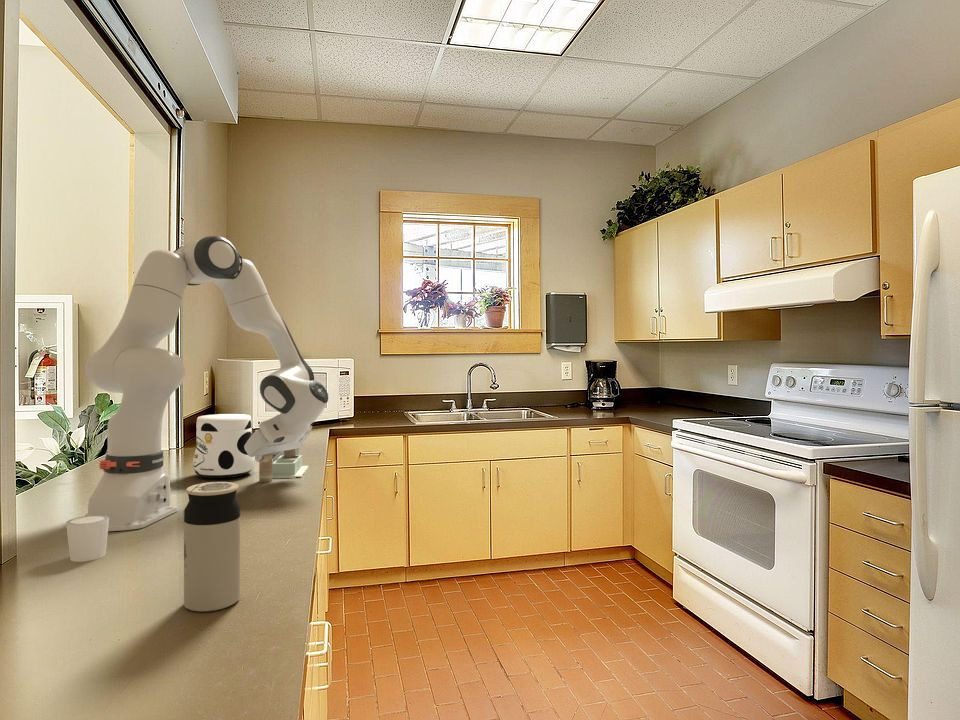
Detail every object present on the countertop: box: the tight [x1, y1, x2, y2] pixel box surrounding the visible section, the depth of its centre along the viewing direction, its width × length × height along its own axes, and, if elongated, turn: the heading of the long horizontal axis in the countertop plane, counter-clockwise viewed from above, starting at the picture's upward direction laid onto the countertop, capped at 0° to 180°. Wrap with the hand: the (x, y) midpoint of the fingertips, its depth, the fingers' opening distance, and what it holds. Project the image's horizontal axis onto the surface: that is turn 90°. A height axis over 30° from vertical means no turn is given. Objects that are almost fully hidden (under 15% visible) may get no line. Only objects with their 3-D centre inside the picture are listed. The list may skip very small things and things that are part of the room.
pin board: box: [272, 449, 310, 479], centre depth 195 cm, size 16×11×13 cm
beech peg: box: [258, 453, 273, 483], centre depth 182 cm, size 4×4×12 cm
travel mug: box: [183, 481, 241, 613], centre depth 96 cm, size 8×8×18 cm
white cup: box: [65, 515, 109, 563], centre depth 116 cm, size 7×7×7 cm
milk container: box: [192, 413, 256, 479], centre depth 189 cm, size 17×17×18 cm
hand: (264, 458), depth 183 cm, fingers closed on beech peg, 4 cm apart
